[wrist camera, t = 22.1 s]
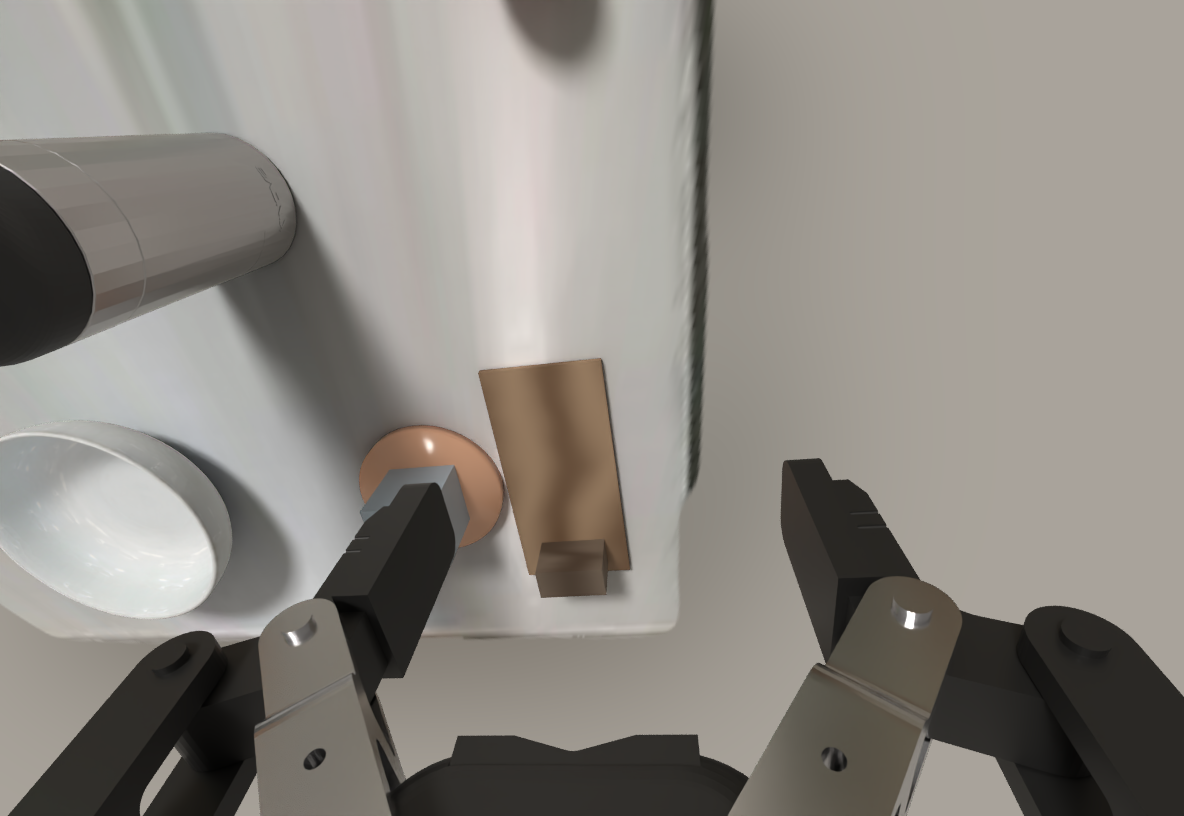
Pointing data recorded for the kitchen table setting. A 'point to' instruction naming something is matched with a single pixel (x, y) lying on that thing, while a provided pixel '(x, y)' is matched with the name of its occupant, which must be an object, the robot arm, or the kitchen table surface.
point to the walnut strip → (559, 472)
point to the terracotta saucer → (439, 450)
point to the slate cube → (437, 474)
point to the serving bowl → (112, 518)
